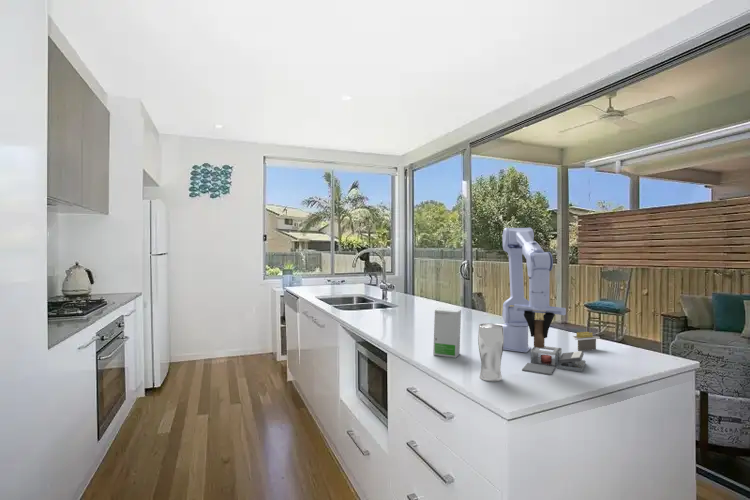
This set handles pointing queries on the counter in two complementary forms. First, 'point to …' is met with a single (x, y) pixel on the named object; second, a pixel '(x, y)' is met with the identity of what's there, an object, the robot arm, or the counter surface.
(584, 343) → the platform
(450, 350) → the skincare box
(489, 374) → the beer glass
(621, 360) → the counter surface
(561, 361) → the rocker
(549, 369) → the mat
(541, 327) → the brown cylinder
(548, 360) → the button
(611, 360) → the counter surface
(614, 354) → the counter surface
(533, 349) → the silver metal box
